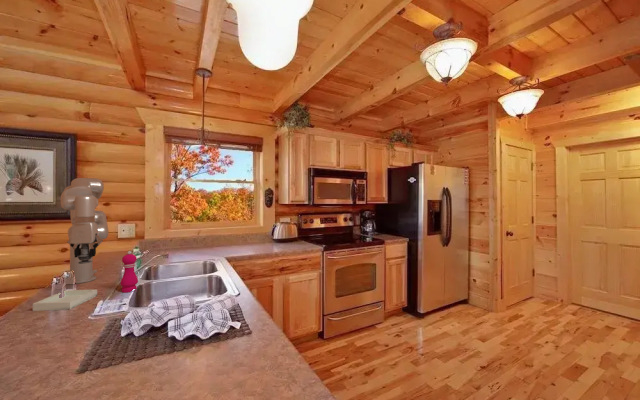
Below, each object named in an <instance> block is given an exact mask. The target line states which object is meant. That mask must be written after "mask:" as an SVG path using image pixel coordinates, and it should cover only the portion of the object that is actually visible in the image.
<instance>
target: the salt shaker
mask: <svg viewBox="0 0 640 400" xmlns="http://www.w3.org/2000/svg"><path fill="white" fill-rule="evenodd" d="M89 248H90V247H89V244H81V254H80V255H78V256H77V257H78V259H79V260H81V262H79V263H78V264H84V263H90V262H92V261H90V260H89V259H91V258H92V257H89Z"/></svg>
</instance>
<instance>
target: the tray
mask: <svg viewBox="0 0 640 400" xmlns="http://www.w3.org/2000/svg"><path fill="white" fill-rule="evenodd" d="M63 291H64V294H65V296H64V297H62V298H59V295H60V294H61V293H60V292H58V294H57V293H55V294H53V295H50V296H48V297H45V298H43V299H41V300H38V301H36V302H33V303H32V312H37V311H38V312H39V311H61V310H65V311H67V310H72V309H74V308H76V307H77V306H79V305H81V304H83V303H86V302H87V301H89V300H92V299H94V298H95V297H97V296H98V289H71V290H70V289H67V290H66V289H65V290H63Z"/></svg>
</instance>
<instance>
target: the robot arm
mask: <svg viewBox="0 0 640 400" xmlns="http://www.w3.org/2000/svg"><path fill="white" fill-rule="evenodd" d="M104 187H105V186H104V182H103V180H101V179H100V178H91V177H90V178H89V177H77V178H74V179H72V181H71V182H70V185H68V186H66V187H65V188H64V189H63V192H62V193H61V195H60V205H61V208H62V209H63V210H65V211H69V212H70V215H69V216H70V222H71V223H70V224H71V225H72V226H70V227H69V228H68V230H67V237H68V240H67V241H66V243H67V244H68V245H69V272H70V271H72V270H73V271H74V274H75V279H76V284H83V283H88V282H93V281H94V280H96V279H97V276H96V275H94V274H96V273H97V272H98V269H95V268H94V269H93V267H94V265H93V262H94V261H93V260H94V259H93V257H95V256H96V253H97V248H98V247H99V246H100V245H101V244H102V243H103V242H104V240H106V239H108V237H109V224H108V220H107V215H106V213H105V212H104V211H103V210H96V208H97V207H99V199H101V198H102V196H103V193H104V189H105V188H104ZM81 244H89V247H90V248H89V257H92V258H91V259H89V260H90V261H92V262H90V263H84V264H78V263H79V262H81V260H79V259H78V257H77V256H78V255H80V254H81ZM76 284H75V285H76Z"/></svg>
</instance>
